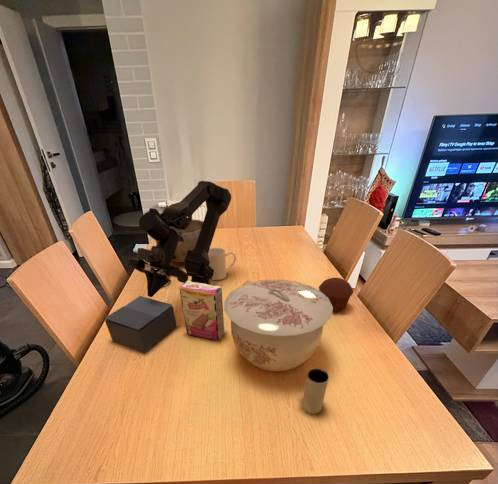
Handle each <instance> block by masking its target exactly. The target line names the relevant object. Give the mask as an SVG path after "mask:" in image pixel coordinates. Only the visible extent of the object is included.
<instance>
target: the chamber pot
mask: <svg viewBox="0 0 498 484" xmlns="http://www.w3.org/2000/svg"><path fill="white" fill-rule="evenodd" d="M332 311H333V306H332V304H331V302H330V300H329V298H328V297H327V296H325V295H324V294H323V293H322V292H321V291H319V289H317V288H316V287H313V286H311V285H309V284H306V283H302V282H300V281H294V280H289V279H263V280H256V281H251V280H247V281H245V282H244V283H243V284H241V285H239V286H238V287H236V288H235V289H234V290H232V291H231V292H229V294H228V295H227V296H226V298H225V299H224V304H223V312H224V313H225V314H226V316H227V317H228V319H229V320H230V333H231V336H232V340H233V343H234V345H235V347H236V349H237V351H238V352H239V354H240V355H241V356H242V357H243V358H244V359H245V360H246V361H247V362H248V363H250V364H251V365H252V366H254V367H256V368H257V369H261V370H263V371H268V372H285V371H288V370H293V369H295V368H297V367H299V366H301V365H302V364H304V363H305V362H306V361H307V360H308V359H310V358H311V356H312V355H313V354H314V353H315V351H316V350H317V349H318V347H319V345H320V342H321V340H322V336H323V330H324V326H325V325H326V324H327V323H328V322H329V321H330V319H331V318H332V316H333V313H332Z"/></svg>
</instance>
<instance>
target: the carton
mask: <svg viewBox="0 0 498 484" xmlns="http://www.w3.org/2000/svg"><path fill="white" fill-rule="evenodd" d="M103 318H104V322H105V325H106V328H107V330H108V332H109V335H110V338H111V341H112V342H114V343H116V344H119V345H122V346H124V347H127V348H130V349H133V350H135V351H137V352H141V353H142V354H143V353H144V354H146V353H148V352H149V351H150V350H152V349H153V347H155V346H156V345H157V344H159V342H161V341H162V340H163V339H165V338H166V337H167V336H168V335H169V334H170V333H172V332H173V331H175V330H176V329H177V327H178V325H177V321H176V315H175V309H174V306H172V307H171V308H169V309H168V310H167V311H165V312H164V313H163V314H161V315H160V316H159V317H157V318H156V316H152V315H149V314H146V313H143V312H139V311H136V310H133V309H130V308H127V307H124V306H121V307H120V308H118V309H116V310H115V311H114V312H112V313H110V314H108V315H107V316H105V317H103Z"/></svg>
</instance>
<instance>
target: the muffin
mask: <svg viewBox="0 0 498 484" xmlns="http://www.w3.org/2000/svg"><path fill="white" fill-rule="evenodd" d="M318 290H319V291H321V292H322V293H323V294H324V295H325V296H327V297H328V298H329V300H330V302H331V304H332V306H333V311H332V314H335V313H342V312H343V311H344V310H345V309H346V307H347V305H348V303H349V300H350V298H351V296H353V294H354V289H353V287H352V285H351V284H350V282H348V281H347V280H345V279H343V278H342V277H331V278H327V279H324V280H323V281H322V282H321V284H320V285H319V286H318Z"/></svg>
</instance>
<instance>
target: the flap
mask: <svg viewBox="0 0 498 484" xmlns="http://www.w3.org/2000/svg"><path fill="white" fill-rule="evenodd" d="M123 307H127V308H130V309H133V310H136V311H139V312H143V313H146V314H149V315H152V316H156V318H157V317H159V316H160V315H161V314H163V313H164V312H165V311H167V310H168V309H169V308H171V307H173V304H170V303H167V302H163V301H160V300H156V299H154V298H151V297H146V296H143V295H139V296H137V297H136V298H135V299H133V300H131V301H130V302H129V303H127V304H125V305H124V306H123Z"/></svg>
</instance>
